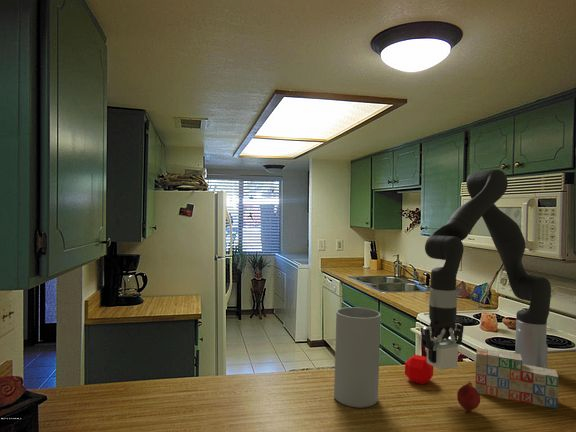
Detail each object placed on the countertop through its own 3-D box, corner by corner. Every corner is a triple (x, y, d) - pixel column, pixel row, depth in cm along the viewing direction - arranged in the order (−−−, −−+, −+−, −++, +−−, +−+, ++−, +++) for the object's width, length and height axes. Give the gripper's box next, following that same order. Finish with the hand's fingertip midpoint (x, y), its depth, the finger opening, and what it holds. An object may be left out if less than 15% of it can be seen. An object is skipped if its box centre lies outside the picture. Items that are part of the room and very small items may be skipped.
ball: (434, 379, 135) (435, 356, 135) (428, 388, 129) (429, 363, 129) (409, 374, 140) (410, 351, 140) (402, 382, 133) (403, 358, 133)
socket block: (442, 360, 126) (443, 337, 126) (457, 367, 120) (457, 343, 120) (426, 362, 124) (427, 339, 124) (440, 370, 118) (441, 346, 118)
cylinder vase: (338, 386, 128) (340, 305, 128) (379, 393, 124) (382, 309, 124) (329, 404, 116) (332, 315, 116) (375, 412, 113) (378, 320, 112)
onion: (469, 418, 111) (470, 388, 111) (452, 408, 116) (453, 380, 116) (484, 413, 113) (485, 384, 113) (466, 404, 118) (467, 376, 118)
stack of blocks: (555, 401, 123) (556, 359, 122) (557, 410, 117) (559, 366, 117) (475, 385, 132) (476, 346, 132) (474, 392, 127) (475, 352, 126)
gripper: (453, 299, 128) (452, 353, 128) (414, 302, 123) (413, 359, 123) (471, 304, 121) (470, 362, 121) (431, 308, 116) (430, 368, 116)
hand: (441, 360), depth 122 cm, fingers closed on socket block, 6 cm apart
